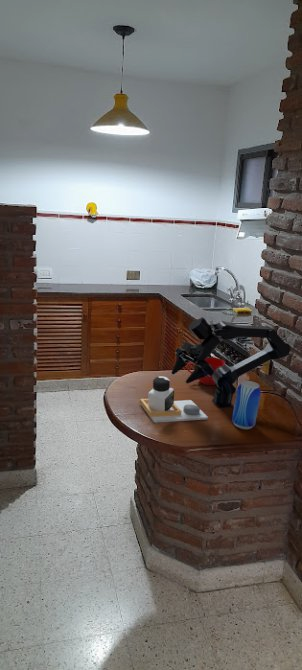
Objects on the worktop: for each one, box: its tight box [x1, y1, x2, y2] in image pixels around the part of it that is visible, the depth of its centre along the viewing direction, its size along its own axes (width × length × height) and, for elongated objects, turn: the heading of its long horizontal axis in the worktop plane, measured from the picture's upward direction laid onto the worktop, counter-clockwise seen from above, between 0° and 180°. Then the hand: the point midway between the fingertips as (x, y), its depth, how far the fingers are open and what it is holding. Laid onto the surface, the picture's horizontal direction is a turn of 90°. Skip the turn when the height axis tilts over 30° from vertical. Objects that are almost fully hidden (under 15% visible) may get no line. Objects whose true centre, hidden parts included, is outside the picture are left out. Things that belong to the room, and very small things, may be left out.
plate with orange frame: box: [139, 398, 209, 424], centre depth 183 cm, size 22×15×2 cm
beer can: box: [231, 380, 262, 430], centre depth 177 cm, size 8×8×16 cm
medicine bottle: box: [147, 375, 175, 411], centre depth 180 cm, size 7×7×12 cm
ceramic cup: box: [186, 356, 226, 386], centre depth 215 cm, size 13×17×10 cm
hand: (179, 378), depth 183 cm, fingers open, 9 cm apart
